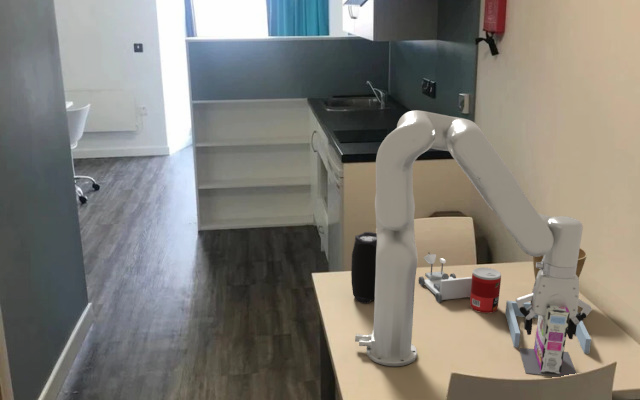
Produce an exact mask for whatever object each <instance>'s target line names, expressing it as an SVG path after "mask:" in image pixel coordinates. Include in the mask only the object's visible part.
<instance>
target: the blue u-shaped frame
mask: <svg viewBox="0 0 640 400" xmlns="http://www.w3.org/2000/svg"><path fill="white" fill-rule="evenodd" d="M505 305H506V306H505V317H506V322H507V325H508V330H509V333H510V338H511V340H512V344H513V347H514V348H520V340H521V339H520V338H521V331H520V327H519V324H518V321H517V317H520V318H521V317H522V318H525V316H524V315H523V314H522V313H521V312H520V310H519V307H518V305H517V303H516V300H514V301H513V300H506V304H505ZM523 306H524V307H525V308H526V309H528V308H529V307H530V306H531V301H529V302H526V303H524V304H523ZM578 313H579V312H578V311H577V314H578ZM538 316H539V315H535V316H533V317H532V319H533V318H535V319H538ZM575 337H576V339H577V340H578V343H579V345H580V348H581V349H582V351H583V353H584V354H590V350H591V342H592V338H591V336H590V334H589V332H588V330H587V328H586V326H585V324H584V321H583V320H582V321H580V322H579V324H578V325H577V328H576V334H575Z"/></svg>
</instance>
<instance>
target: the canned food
mask: <svg viewBox="0 0 640 400" xmlns="http://www.w3.org/2000/svg"><path fill="white" fill-rule="evenodd" d="M471 273H472V275H471V277H472V283H471V295H470V297H469V298H470V299H469V305H470V308H471V309H472V310H474V311H476V312H478V313H481V314H482V313H483V314H493V313H495V312H497V310H498V308H499V303H500V302H499V300H500V290H501V282H502V273H501V272H500V271H499V270H497V269H495V268H491V267H476V268H474V269H473V270H472V272H471Z"/></svg>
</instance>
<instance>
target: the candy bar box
mask: <svg viewBox="0 0 640 400" xmlns="http://www.w3.org/2000/svg"><path fill="white" fill-rule="evenodd" d="M569 315H570V312H569V310H568V308H567V307H560V306H547V309H546V316H540V315H539V316H538V318H537V324H536V331H535V338H534V339H535V341H534V348H533V349H534V352H535V355H536V358H537V361H538V365H539V368H540V372H543V373H551V374H561V368H562V361H563V354H564V352H565V346H566V341H567V336H568V335H567V328H568V322H569Z"/></svg>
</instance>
